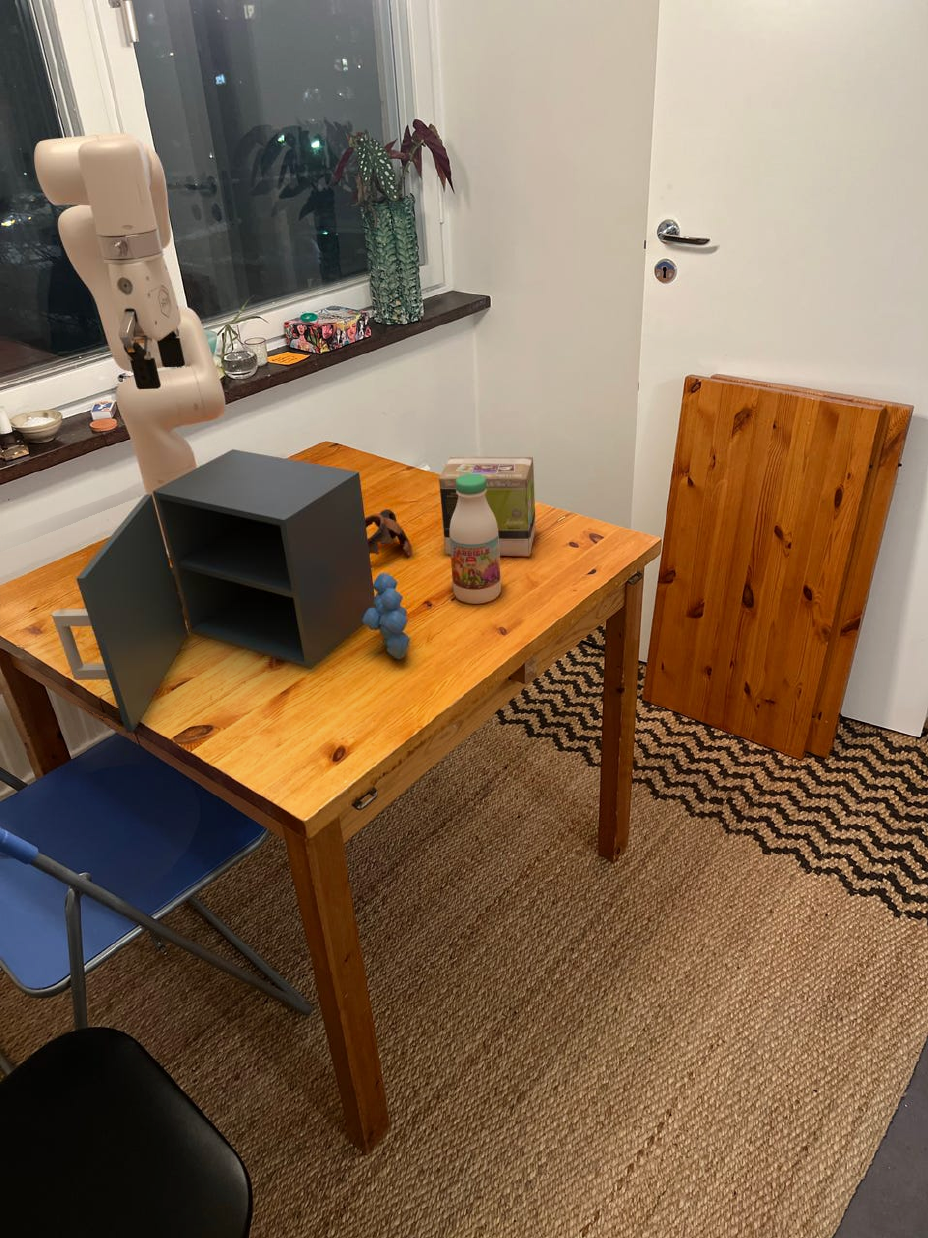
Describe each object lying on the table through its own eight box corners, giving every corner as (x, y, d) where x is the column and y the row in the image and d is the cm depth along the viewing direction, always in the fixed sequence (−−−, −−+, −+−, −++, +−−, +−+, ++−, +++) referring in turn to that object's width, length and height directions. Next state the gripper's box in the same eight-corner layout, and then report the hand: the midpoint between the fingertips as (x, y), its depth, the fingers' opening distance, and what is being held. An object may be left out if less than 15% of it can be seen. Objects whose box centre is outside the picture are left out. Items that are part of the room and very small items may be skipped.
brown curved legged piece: (413, 567, 157) (385, 536, 152) (368, 585, 161) (340, 555, 156) (419, 521, 165) (393, 490, 160) (377, 539, 169) (350, 509, 164)
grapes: (359, 634, 139) (349, 565, 133) (402, 626, 140) (394, 557, 134) (374, 676, 129) (364, 604, 123) (420, 666, 131) (413, 594, 124)
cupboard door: (78, 733, 122) (22, 579, 109) (140, 635, 142) (100, 495, 130) (133, 733, 121) (83, 578, 109) (188, 634, 142) (152, 494, 129)
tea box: (536, 532, 165) (534, 455, 157) (529, 558, 156) (528, 478, 148) (454, 529, 167) (449, 453, 159) (443, 555, 159) (437, 477, 151)
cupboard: (311, 670, 132) (284, 519, 119) (188, 632, 142) (152, 491, 130) (377, 613, 144) (359, 471, 131) (259, 582, 155) (232, 448, 142)
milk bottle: (451, 583, 151) (443, 470, 140) (498, 579, 151) (493, 466, 140) (455, 607, 144) (446, 491, 134) (503, 602, 145) (499, 486, 134)
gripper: (134, 258, 111) (166, 396, 120) (181, 233, 125) (207, 357, 134) (74, 261, 111) (111, 398, 120) (129, 236, 126) (158, 359, 135)
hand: (162, 376), depth 127 cm, fingers open, 9 cm apart
